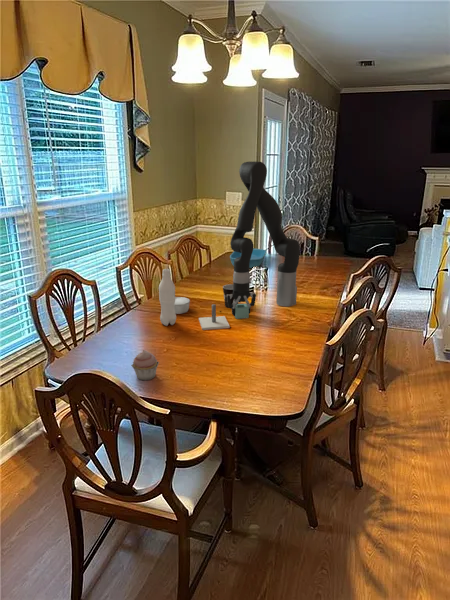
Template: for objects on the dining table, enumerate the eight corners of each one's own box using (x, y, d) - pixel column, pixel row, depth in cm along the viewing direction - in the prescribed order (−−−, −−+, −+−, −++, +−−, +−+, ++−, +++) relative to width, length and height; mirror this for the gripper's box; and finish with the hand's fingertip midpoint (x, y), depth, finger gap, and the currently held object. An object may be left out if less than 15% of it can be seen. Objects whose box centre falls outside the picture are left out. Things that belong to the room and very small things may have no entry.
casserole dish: (236, 256, 323) (237, 246, 321) (267, 257, 319) (267, 247, 316) (226, 269, 289) (226, 258, 287) (261, 271, 285) (261, 260, 282)
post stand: (224, 318, 207) (224, 299, 204) (229, 327, 196) (229, 308, 193) (198, 319, 205) (198, 301, 202) (202, 329, 193) (202, 310, 190)
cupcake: (139, 368, 160) (138, 342, 157) (163, 371, 158) (162, 346, 154) (127, 380, 152) (125, 354, 148) (152, 384, 149) (150, 357, 146)
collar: (245, 313, 212) (245, 303, 211) (248, 317, 207) (248, 307, 205) (233, 314, 211) (233, 304, 210) (236, 318, 206) (236, 308, 204)
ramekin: (177, 305, 224) (177, 295, 222) (194, 309, 217) (194, 299, 216) (162, 311, 215) (161, 301, 213) (179, 316, 209) (179, 306, 207)
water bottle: (179, 321, 202) (177, 268, 194) (172, 327, 196) (170, 272, 188) (164, 319, 205) (162, 267, 196) (157, 325, 198) (154, 271, 190)
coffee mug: (238, 309, 217) (238, 290, 214) (221, 308, 219) (221, 288, 216) (242, 301, 228) (242, 283, 225) (225, 300, 230) (225, 282, 227)
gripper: (254, 277, 208) (253, 311, 214) (224, 279, 206) (224, 313, 211) (258, 282, 201) (257, 316, 207) (227, 283, 199) (227, 318, 204)
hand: (240, 314), depth 209 cm, fingers closed on collar, 6 cm apart
